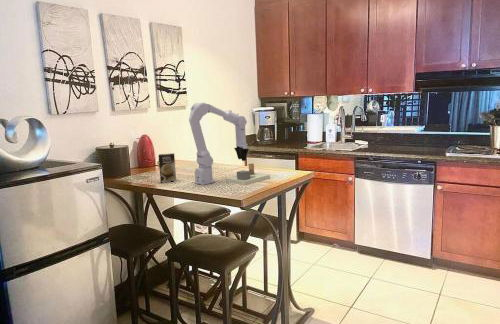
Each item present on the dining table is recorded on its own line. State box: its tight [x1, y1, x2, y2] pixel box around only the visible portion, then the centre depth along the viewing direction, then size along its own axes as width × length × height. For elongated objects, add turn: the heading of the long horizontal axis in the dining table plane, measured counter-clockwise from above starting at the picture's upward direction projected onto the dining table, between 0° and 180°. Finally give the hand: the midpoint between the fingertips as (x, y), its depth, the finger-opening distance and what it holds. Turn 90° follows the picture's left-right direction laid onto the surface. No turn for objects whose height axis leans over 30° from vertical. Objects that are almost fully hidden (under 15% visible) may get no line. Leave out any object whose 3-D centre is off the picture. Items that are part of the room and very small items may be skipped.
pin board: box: [225, 172, 271, 186], centre depth 210 cm, size 20×15×5 cm
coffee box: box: [158, 153, 177, 183], centre depth 219 cm, size 9×6×16 cm
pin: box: [248, 163, 255, 175], centre depth 216 cm, size 3×3×6 cm
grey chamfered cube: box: [236, 169, 251, 180], centre depth 204 cm, size 5×5×4 cm
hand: (242, 159), depth 220 cm, fingers open, 7 cm apart
